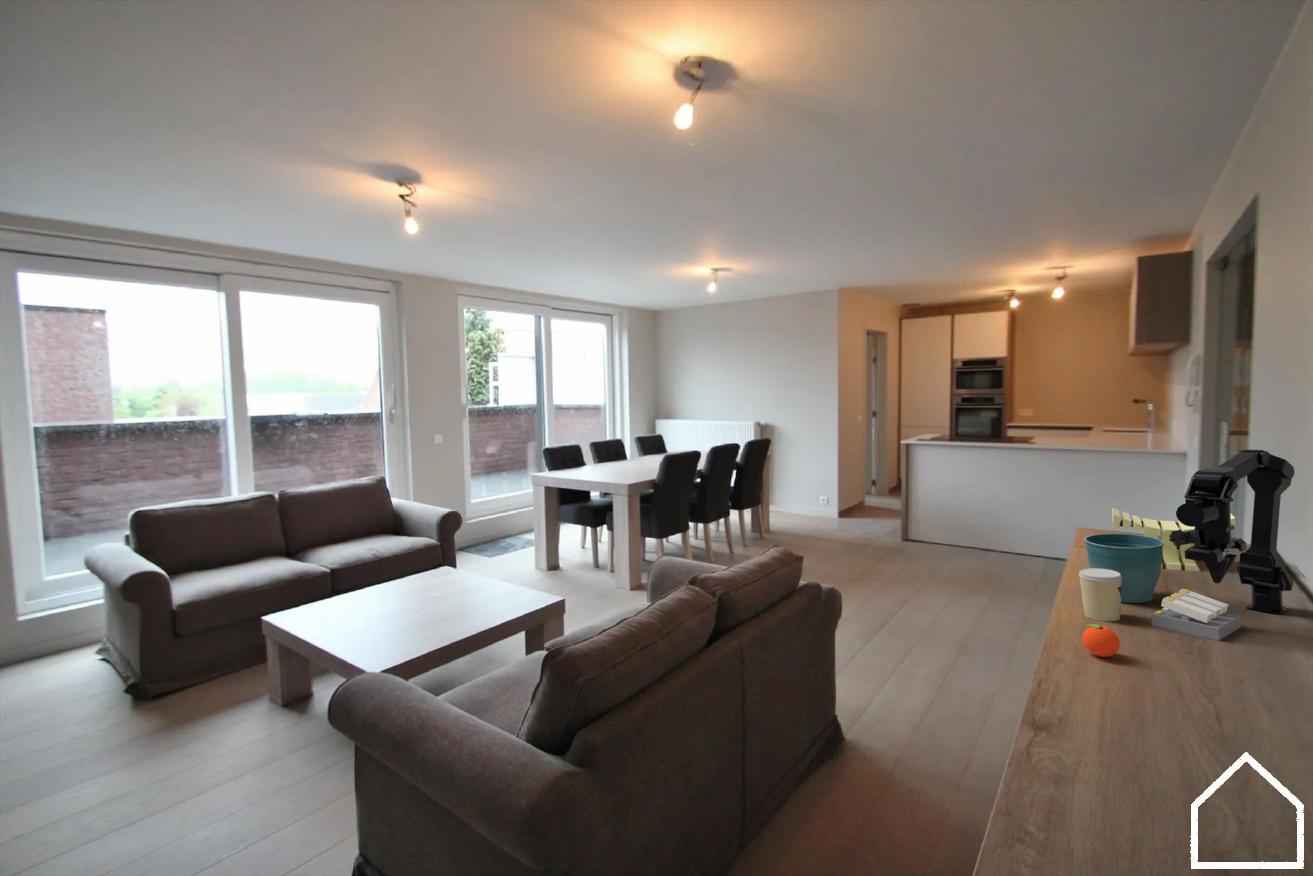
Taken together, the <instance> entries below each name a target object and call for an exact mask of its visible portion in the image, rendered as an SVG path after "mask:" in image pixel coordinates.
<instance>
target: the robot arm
mask: <svg viewBox="0 0 1313 876" xmlns="http://www.w3.org/2000/svg"><path fill="white" fill-rule="evenodd" d="M1294 476H1295V467H1294V466H1293V465H1292V464H1291V463H1290V462H1289V461H1288V460H1286V459H1285V458H1282V457H1279V456H1276V455H1273V454H1271V453H1270V452H1269V451H1267V450H1263V449H1241V450H1239V451H1238V453H1237V454H1236V455H1235V456H1232V457H1231V458H1230V459H1228V460H1226V461H1225V462H1223V463H1221V464H1220V465H1218V466H1216V467H1215V466H1214V467H1207V468H1203V469H1199V470H1197V471H1195V473H1193V475H1192V476H1191V478H1190V481H1189V484H1188V486H1187V489H1186V491H1185V493H1184V496H1183V497H1184V499H1185V500H1184V502H1185V503H1182V504H1180V505H1179V506H1178V507H1177V509H1176V511H1175V515H1176V518H1177V521H1180V522H1181V523H1182V524H1184V525H1186V526H1189V527H1195V529H1193V530H1188V531H1182V530H1177V531H1172V532H1171V535H1169V536H1170V539H1169V540H1170V541H1171V542H1173V543H1174V545H1175V547H1178V546H1181V545H1185V544H1191V543H1192V544H1194V545H1193V546H1192V544H1191V547H1190V548H1188V549H1187V550H1185V558H1186V559H1190V560H1194V561H1199V562H1204V563H1205V564H1204V565H1205V566H1206V568H1207V570H1208V572H1209V575H1210V577H1211V579H1212V582H1213V583H1214V584H1221V583H1222V581H1223V579H1224V578H1225V577H1226V574H1227V573H1228V572H1229V569H1230V567H1231V566H1232V564H1233V563H1234V561H1235V560H1236V558H1237V557H1238V555H1237V554H1232V553H1230V550H1229V549H1238V551H1239V552H1240V553H1239V563H1238V564H1237V572H1238V577H1239V581H1240V584H1242V585H1249V586H1250V590H1251V591H1250V592H1251V593H1250V594H1251V603H1249V604H1248V605H1246V606H1245V607H1246V609H1249V610H1254V611H1259V612H1265V613H1270V614H1275V613H1276V615H1281V614H1280V613H1282V612H1283V611H1285V610H1286V609H1288V610H1289V607H1288V608H1286V607H1287V606H1284V604H1283V592H1289V591H1293V587H1294V579H1293V578H1292V576H1291V575H1290V573H1289V572H1288V571H1287V570H1286V568H1285V567H1286V566H1285V565H1286V563H1285V562H1286V561H1285V560H1284V558H1283V557H1282V555H1281V554H1280V553H1279V551H1278V550H1277V549H1278V548H1277V547H1278V535H1279V534H1278V533H1279V524H1280V523H1279V522H1280V507H1281V497H1282V496H1281V495H1282V494H1283V493H1284V492H1286V490H1287V489H1288V488H1289V487H1290V486H1291V484H1292V479H1293V478H1294ZM1244 477H1246V482H1247V485H1248V486H1250V488H1251V489H1252V491H1253V492H1254V498H1253V510H1252V520H1251V521H1252V523H1251V525H1252V526H1251V533H1250V534H1251V535H1250V537H1251V538H1250V546H1249V548H1247V542H1246V541H1245V540H1244V539H1242V538H1239V537H1232V531H1233V530H1235V527H1234V525H1231V516H1230V513H1231V502H1234V498H1233V496H1232V495H1233V494H1234V492H1235V490H1237V489H1238V487H1239V486H1238V482H1239V481H1240V480H1241V479H1242V478H1244ZM1286 611H1287V610H1286ZM1286 611H1285V612H1286ZM1283 613H1284V612H1283ZM1283 613H1282V614H1283Z"/></svg>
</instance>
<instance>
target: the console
mask: <svg viewBox="0 0 1313 876" xmlns="http://www.w3.org/2000/svg"><path fill="white" fill-rule="evenodd" d="M1150 616H1151V626H1152V627H1154V628H1155V627H1156V628H1160V629H1165V630H1170V631H1174V632H1177V633H1183V634H1187V635H1191V636H1195V637H1199V638H1204V639H1209V640H1212V641H1217V642H1220V641H1221V640H1223V639H1224V638H1226V637H1228V636H1230V635H1231V634H1233V633H1235V632H1236V631H1237V630H1239V629H1241V616H1240V615H1238V614H1233V613H1229V612H1225V613H1223V614H1222V615H1221V614H1220V615H1219V616H1218V617H1216V618H1212V620H1211V621H1209V622H1207V623H1205V622H1202V621H1200V620H1197V619H1194V618H1192V617H1189V616H1186V615H1184V614H1181V613H1178V612H1175V611H1173V610H1170V609H1167V608H1165V607H1163V608H1161V609H1158V610H1157V611H1154V612H1153V613H1151V615H1150Z"/></svg>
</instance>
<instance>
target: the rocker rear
mask: <svg viewBox="0 0 1313 876" xmlns="http://www.w3.org/2000/svg"><path fill="white" fill-rule="evenodd" d="M1177 593H1179V594H1182V595H1184V596H1187V597H1190V598H1193V599H1196V600H1199V601H1202V602H1205V603H1207V604H1210V605H1213V606H1216V607H1219V608H1221V611H1220V614H1221V615H1222V614H1223V613H1228V612H1227V611H1228V607H1229V604H1228V603H1225V602H1223V601H1219V600H1217V599H1214V598H1211V597H1208V596H1207V595H1203V594H1200V593H1197V592H1194V591H1191V590H1190V589H1187V588H1181V589H1180V590H1179V591H1178V592H1177Z"/></svg>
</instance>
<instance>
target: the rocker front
mask: <svg viewBox="0 0 1313 876" xmlns="http://www.w3.org/2000/svg"><path fill="white" fill-rule="evenodd" d="M1160 606H1161V607H1163V608H1164V607H1165V608H1167V609H1170V610H1173V611H1175V612H1178V613H1181V614H1184V615H1186V616H1189V617H1192V618H1194V619H1197V620H1200V621H1202V622H1205V623H1207V622H1209V621H1211V620H1212V617H1213V612H1211V611H1208V610H1205V609H1202V608H1199V607H1197V606H1194V605H1191V604H1188V603H1185V602H1182V601H1180V600H1177V599H1175V598H1172V597H1170V596H1166V597H1163V598H1162V601H1161V605H1160Z"/></svg>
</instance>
